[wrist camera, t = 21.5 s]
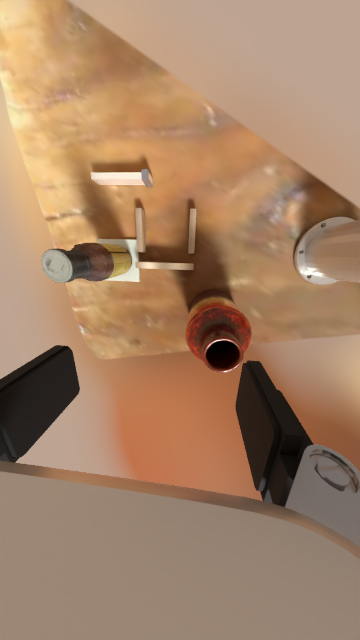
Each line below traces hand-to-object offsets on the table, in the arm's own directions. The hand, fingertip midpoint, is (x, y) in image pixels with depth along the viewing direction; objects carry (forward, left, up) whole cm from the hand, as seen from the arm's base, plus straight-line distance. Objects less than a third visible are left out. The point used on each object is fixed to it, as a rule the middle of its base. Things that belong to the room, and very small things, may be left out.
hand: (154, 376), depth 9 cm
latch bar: (+13, -20, -33) cm, 41 cm away
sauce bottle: (+16, -5, -33) cm, 37 cm away
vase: (-6, +6, -34) cm, 35 cm away
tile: (+16, -5, -33) cm, 37 cm away
